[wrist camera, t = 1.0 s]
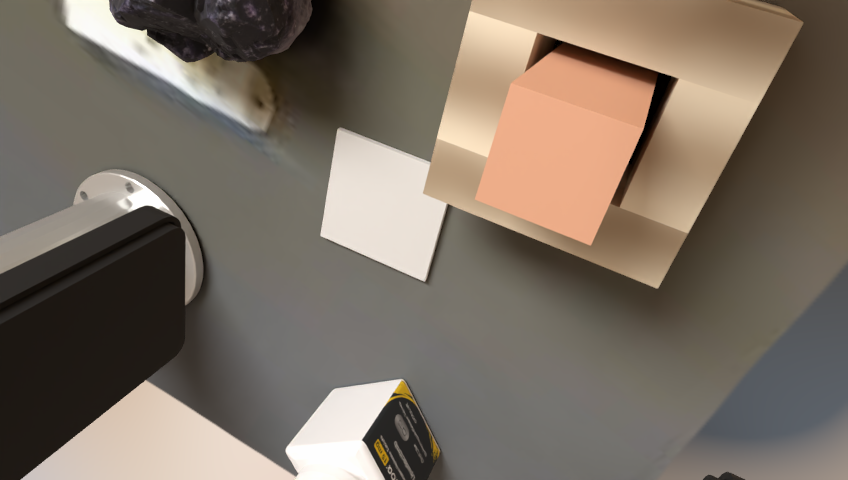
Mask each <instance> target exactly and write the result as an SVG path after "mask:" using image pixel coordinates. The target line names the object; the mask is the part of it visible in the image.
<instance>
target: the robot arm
mask: <svg viewBox="0 0 848 480" xmlns="http://www.w3.org/2000/svg"><path fill="white" fill-rule="evenodd" d="M202 280H203V260H202V254H201V250H200V247H199V243H198V240H197V237H196V235H195V233H194V231H193V229H192V227H191V225H190V223H189V222H188V220H187V218H186V217H185V215H184V214H183V212H182V211H181V210H180V208H179V207H178V206H177V205H176V203H175V202H174V201H173V200H172V199H171V198H170V197H169V196H168V195H167V194H166V193H165V192H164V191H163V190H162V189H161V188H159V187H158V186H156V185H155V184H154V183H152V182H151V181H149V180H148V179H146V178H144V177H142V176H140V175H138V174H136V173H133V172H129V171H126V170H118V169H111V170H106V171H102V172H99V173H97V174H95V175H92V176H90V177H88V178H87V179H86V180H85V181H83V182H82V184H81V185H80V186H79V188H78V190H77V192H76V196H75V199H74V206H71V207H69V208H67V209H64V210H62V211H60V212H57V213H55V214H52V215H50V216H48V217H45V218H43V219H41V220H38V221H36V222H34V223H31V224H29V225H26V226H24V227H22V228H19V229H17V230H15V231H12V232H10V233H8V234H5V235H3V236H1V237H0V480H20V479H22V478H23V477H24V476H25V475H27V474H28V473H29V472H31V471H32V470H33V469H34V468H36V467H37V466H38V465H39V464H41V463H42V462H43V461H44V460H45V459H47V458H48V457H49V456H51V455H52V454H53V453H54V452H56V451H57V450H58V449H59V448H61V447H62V446H63V445H64V444H66V443H67V442H68V441H70V440H71V439H72V438H73V437H75V436H76V435H77V434H78V433H80V432H81V431H82V430H83V429H85V428H86V427H87V426H88V425H90V424H91V423H92V422H93V421H95V420H96V419H97V418H98V417H100V416H101V415H102V414H103V413H105V412H106V411H107V410H109V409H110V408H111V407H112V406H113V405H115V404H116V403H117V402H119V401H120V400H121V399H122V398H123V397H125V396H126V395H127V394H129V393H130V392H131V391H132V390H134V389H135V388H136V387H137V386H139V385H140V384H141V383H142V382H144V381H145V380H146V379H147V378H149V377H150V376H151V375H153V374H154V373H155V372H156V371H158V370H159V369H160V368H161V367H163V366H164V365H165V364H166V363H168V362H169V361H170V360H171V359H173V358H174V357H175V356H176V355H177V354H178V353H179V351H180V350H181V348H182V346H183V344H184V340H185V305H187V304H188V303H190V302H191V301H192V300H193V299H194V298H195V297H196V295H197V293H198V292H199V290H200V287H201V284H202ZM703 480H745V479H742V478H740V477H738V476H736V475H734V474H732V473H729V472H726V473H724V474H722V475H721V476H720V477H719V478H716V477H714V476H712V475H708V476H706V477H705V478H704V479H703Z"/></svg>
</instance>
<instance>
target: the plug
mask: <svg viewBox="0 0 848 480" xmlns="http://www.w3.org/2000/svg"><path fill="white" fill-rule="evenodd" d="M658 73H659V72H657V71H654V70H651V69H648V68H645V67H642V66H639V65H636V64H632V63H629V62H626V61H623V60H620V59H617V58H614V57H611V56H608V55H605V54H601V53H598V52H595V51H592V50H589V49H586V48H583V47H580V46H577V45H574V44H570V43H567V42H564V43H562V44H561V45H560V46H558V47H557V48H556V49H555V50H553V51H552V52H551V53H549V54H548V55H547V56H545V57H544V58H543V59H542V60H540V61H539V62H538V63H536V64H535V65H534V66H532V67H531V68H530V69H529V70H527V71H526V72H525V73H523V74H522V75H521V76H519V77H518V78H517V79H516V80H514V81H513V82H512V83H511V85H510V88H509V91H508V94H507V97H506V101H505V104H504V107H503V110H502V113H501V117H500V120H499V123H498V126H497V129H496V133H495V136H494V139H493V142H492V146H491V149H490V152H489V155H488V158H487V162H486V165H485V168H484V171H483V174H482V178H481V181H480V184H479V187H478V191H477V194H476V197H475V200H477V201H480V202H482V203H485V204H487V205H490V206H492V207H495V208H497V209H500V210H502V211H505V212H507V213H510V214H512V215H515V216H517V217H520V218H522V219H525V220H527V221H530V222H532V223H535V224H537V225H540V226H542V227H545V228H547V229H550V230H552V231H555V232H557V233H560V234H562V235H565V236H567V237H570V238H572V239H575V240H578V241H580V242H583V243H585V244H588V245H590V246H591V244H592V242H593V240H594V238H595V235H596V233H597V231H598V229H599V227H600V224H601V222H602V220H603V218H604V215H605V213H606V211H607V209H608V207H609V204H610V202H611V200H612V198H613V196H614V193H615V191H616V189H617V187H618V184H619V182H620V180H621V178H622V176H623V173H624V171H625V169H626V167H627V165H628V162H629V160H630V158H631V156H632V153H633V151H634V149H635V147H636V145H637V142H638V140H639V138H640V136H641V134H642V131H643V129H644V125H645V122H646V118H647V114H648V110H649V107H650V103H651V99H652V95H653V92H654V88H655V84H656V80H657V76H658Z"/></svg>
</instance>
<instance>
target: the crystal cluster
mask: <svg viewBox="0 0 848 480" xmlns="http://www.w3.org/2000/svg"><path fill="white" fill-rule="evenodd" d="M109 3H110V11H111V13H112V15H113V17H114V18H115V20H116V21H117V22H118V23H119V24H121V25H123V26H126V27H129V28H133V29H137V30H141V31H143V30H146V29H147V35H148V36H149V37H151V38H152V39H154V40H155V41H157V42H158V43H160V44H162V45H164V46H165V47H166V48H167V49H169V50H170V51H171V52H172V53H174V54H175V55H176V56H178V57H179V58H180V59H182V60H183V61H185V62H195V61H198V60H201V59H203V58H205V57H208V56H209V55H211V54H212V53H214V52H215V53H217V55H218V56H220V57H221V58H223V59H224V60H229V61H230V60H235V61H237V62H246V61H255V60H260V59H262V58H264V57H266V56H269V55H272V54H278V53H280V52H283V51H285V50H286V49H288V48H289V47H290V45H291V44H292V43H293V41H294V40H295V39H296V37H297V36H298V35H299V34H300V33H301V32H302V31H303V29H304V28H305V26H306V23H307V22H308V21H309V19H310V16H311V13H312V5H311V0H109Z"/></svg>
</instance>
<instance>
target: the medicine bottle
mask: <svg viewBox="0 0 848 480" xmlns="http://www.w3.org/2000/svg"><path fill="white" fill-rule="evenodd" d="M286 454H287V455H288V457H289V459H290V460H291V462H292V464H293V465H294V467H295V469H296V471H297V472H298V475H297V477H296V478H295V479H294V480H427V479H428V476H429V474H430V472H431V470H432V468H433V466H434V464H435V462H436V460H437V458H438V456H439V454H440V449H439V447H438V445H437V443H436V441H435V439H434V437H433V435H432V433H431V431H430V429H429V427H428V425H427V423H426V421H425V419H424V417H423V415H422V413H421V411H420V409H419V407H418V405H417V403H416V401H415V399H414V397H413V395H412V393H411V391H410V389H409V387H408V385H407V383H406V382H405V380H403V379H398V380H391V381H384V382H377V383H370V384H363V385H356V386H349V387H342V388H335V389H334V390H332V392H331V393H330V394H329V395H328V397H327V398H326V399H325V400H324V401H323V403H322V404H321V405H320V406H319V408H318V409H317V410H316V411H315V413H314V414H313V415H312V416H311V418H310V419H309V420H308V421H307V423H306V424H305V425H304V426H303V428H302V429H301V430H300V431H299V432H298V434H297V435H296V436H295V437H294V439H293V440H292V441H291V442H290V444H289V445H288V446H287V448H286Z"/></svg>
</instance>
